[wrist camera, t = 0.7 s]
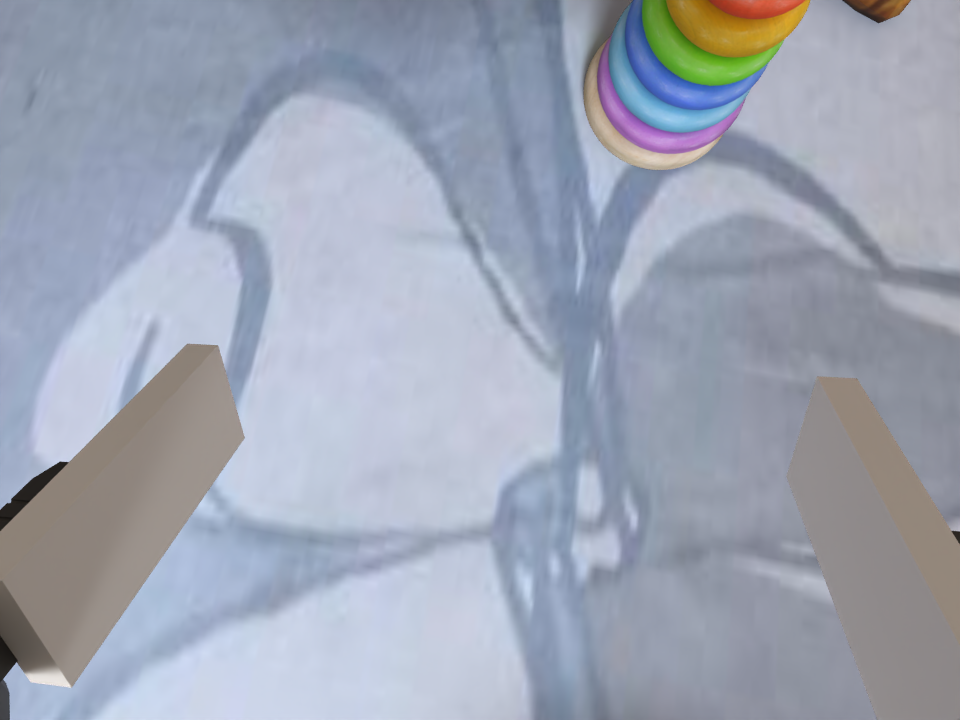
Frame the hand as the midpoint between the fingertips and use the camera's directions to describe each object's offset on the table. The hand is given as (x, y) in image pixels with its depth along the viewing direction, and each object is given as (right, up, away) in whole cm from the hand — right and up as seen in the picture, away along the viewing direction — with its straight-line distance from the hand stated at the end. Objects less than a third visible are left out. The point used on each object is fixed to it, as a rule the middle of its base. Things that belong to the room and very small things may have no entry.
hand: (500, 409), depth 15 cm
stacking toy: (+9, +15, +21) cm, 27 cm away
